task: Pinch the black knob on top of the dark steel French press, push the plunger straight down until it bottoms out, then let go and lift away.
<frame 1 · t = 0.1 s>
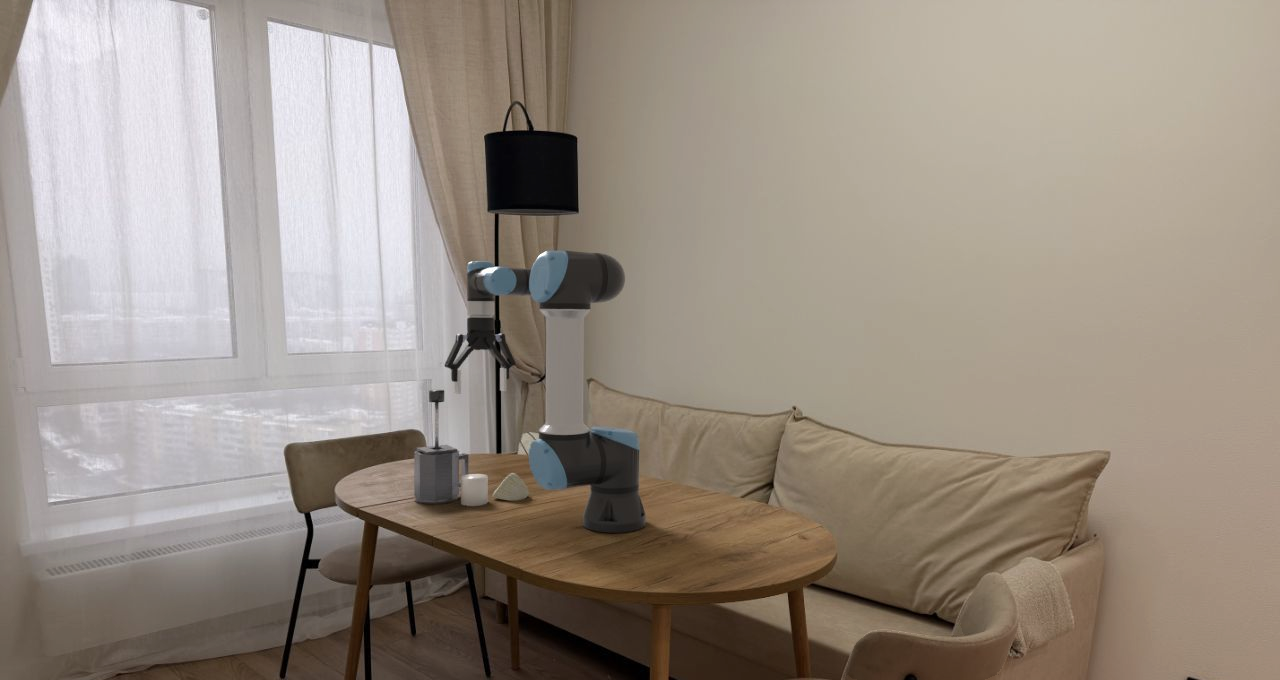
hand: (480, 392, 216), 28 cm above the table, fingers open, 13 cm apart
white pillar candle: (474, 502, 204), on the table
plunger: (436, 425, 207), point 20 cm above the table, slide at 6.0 cm
press: (436, 499, 207), on the table
seashell: (511, 498, 210), on the table
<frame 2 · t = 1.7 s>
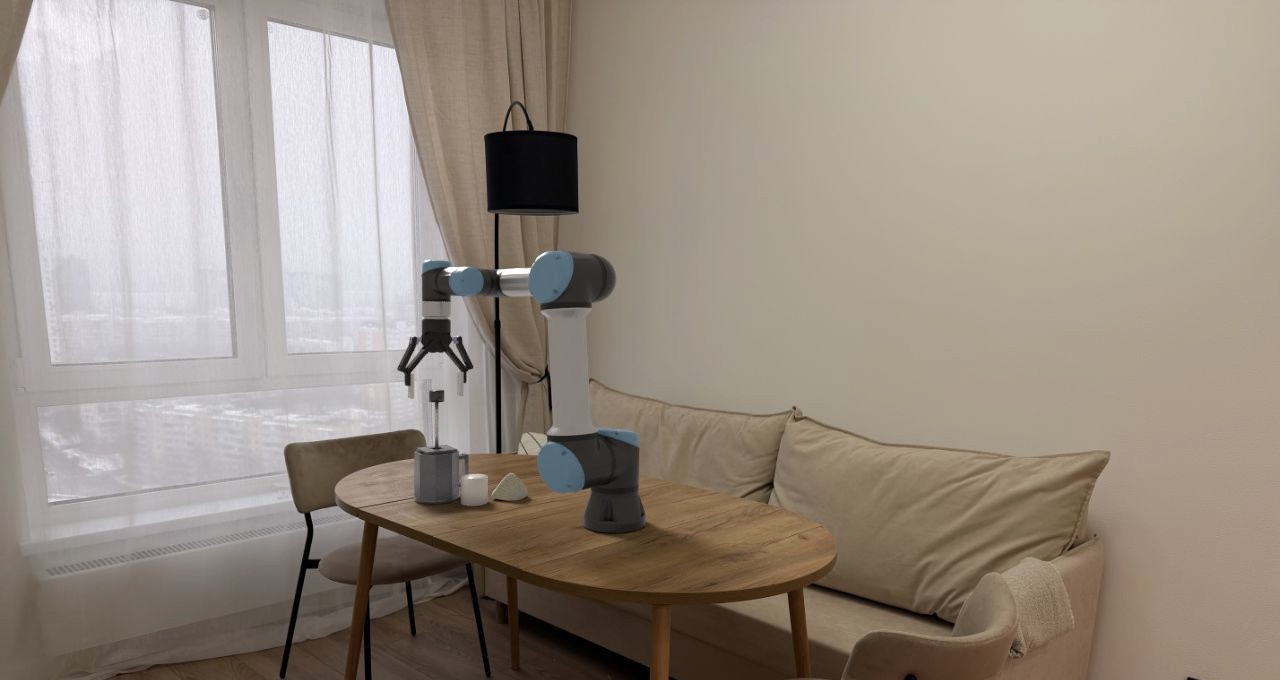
hand: (436, 397, 207), 28 cm above the table, fingers open, 13 cm apart
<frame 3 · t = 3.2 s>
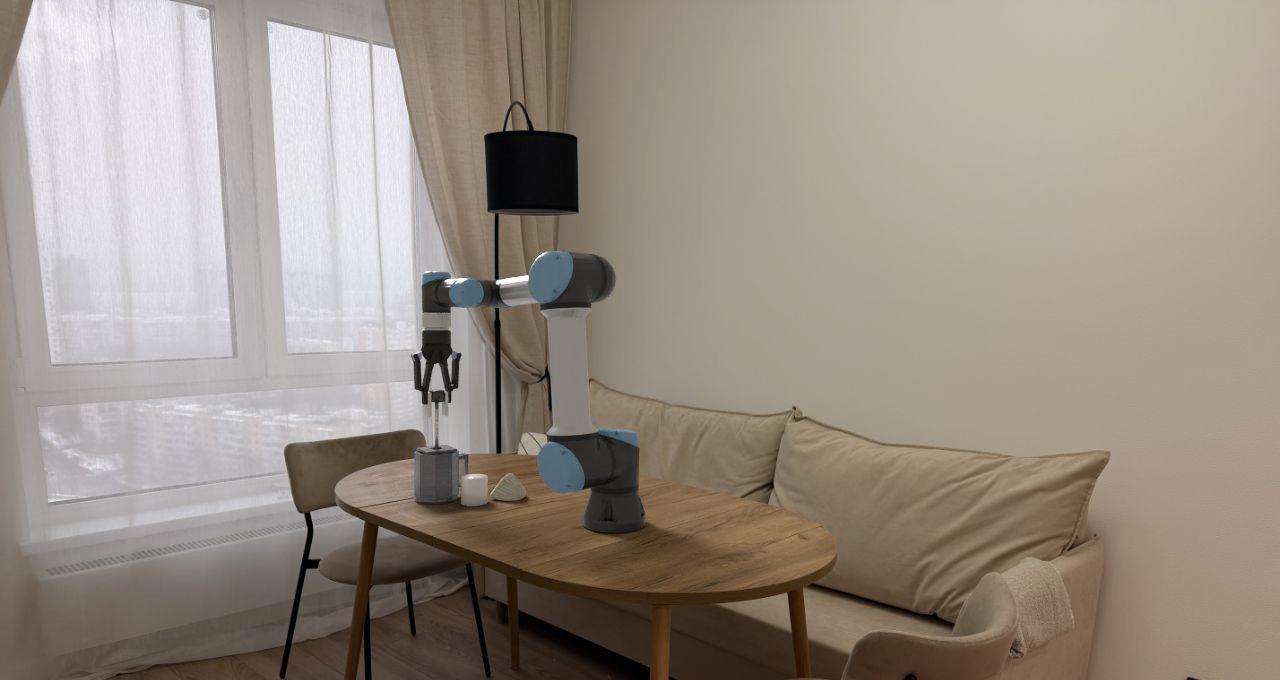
hand: (436, 415, 207), 23 cm above the table, fingers closed on plunger, 4 cm apart
plunger: (436, 425, 207), point 20 cm above the table, slide at 6.0 cm, touching gripper
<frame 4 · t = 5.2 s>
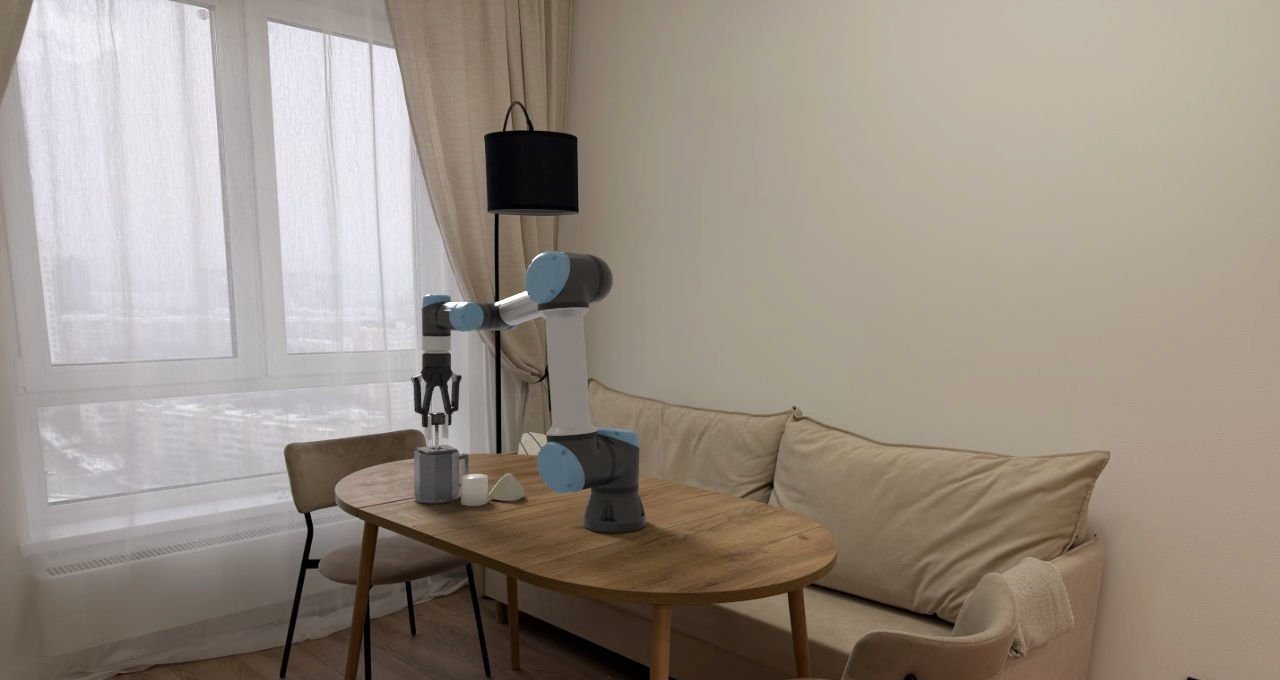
hand: (436, 438, 207), 17 cm above the table, fingers closed on plunger, 4 cm apart
plunger: (436, 448, 207), point 14 cm above the table, slide at -0.1 cm, touching gripper
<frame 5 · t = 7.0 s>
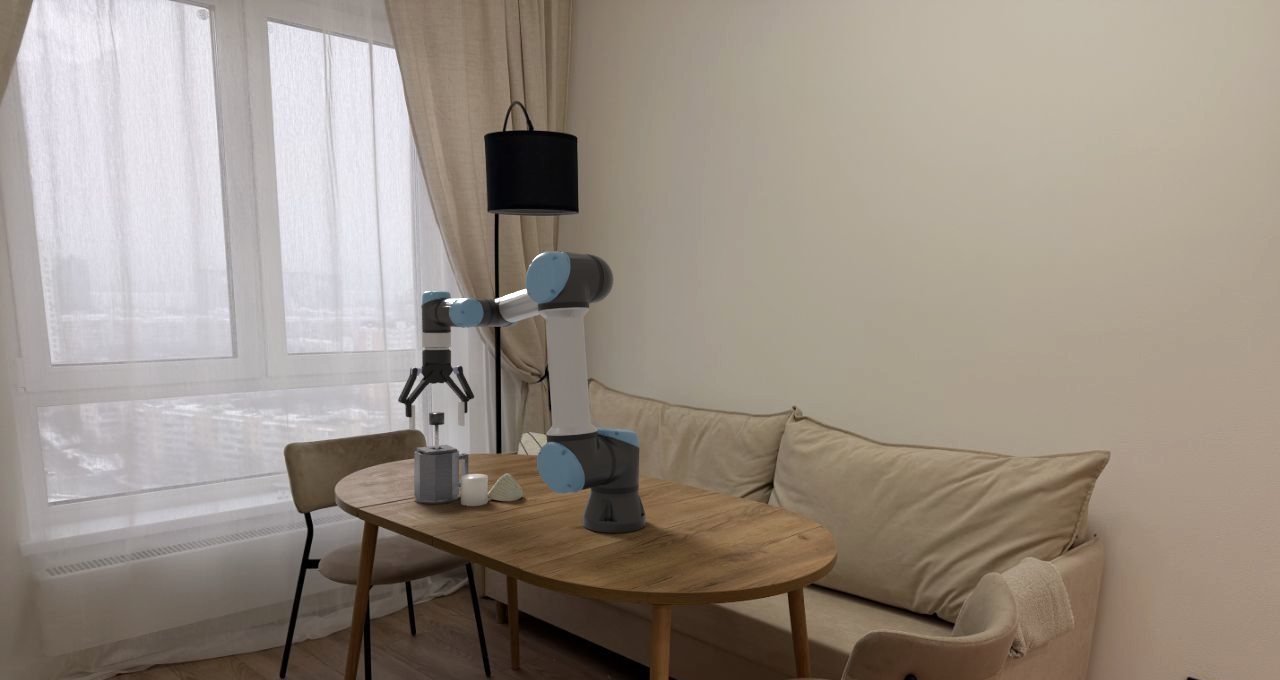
hand: (437, 427, 207), 19 cm above the table, fingers open, 13 cm apart
plunger: (436, 448, 207), point 14 cm above the table, slide at -0.1 cm
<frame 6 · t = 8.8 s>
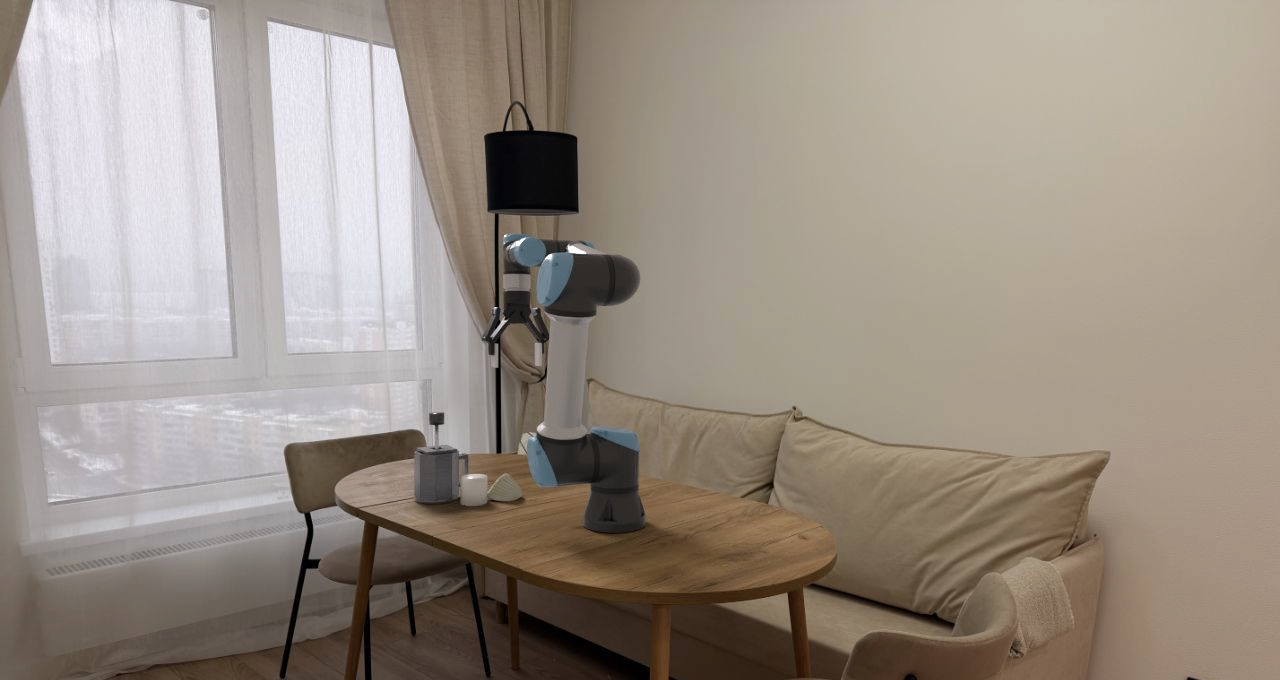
hand: (516, 366, 213), 36 cm above the table, fingers open, 13 cm apart
white pillar candle: (473, 502, 204), on the table, touching seashell
seashell: (504, 498, 209), on the table, touching white pillar candle
everything else where it was.
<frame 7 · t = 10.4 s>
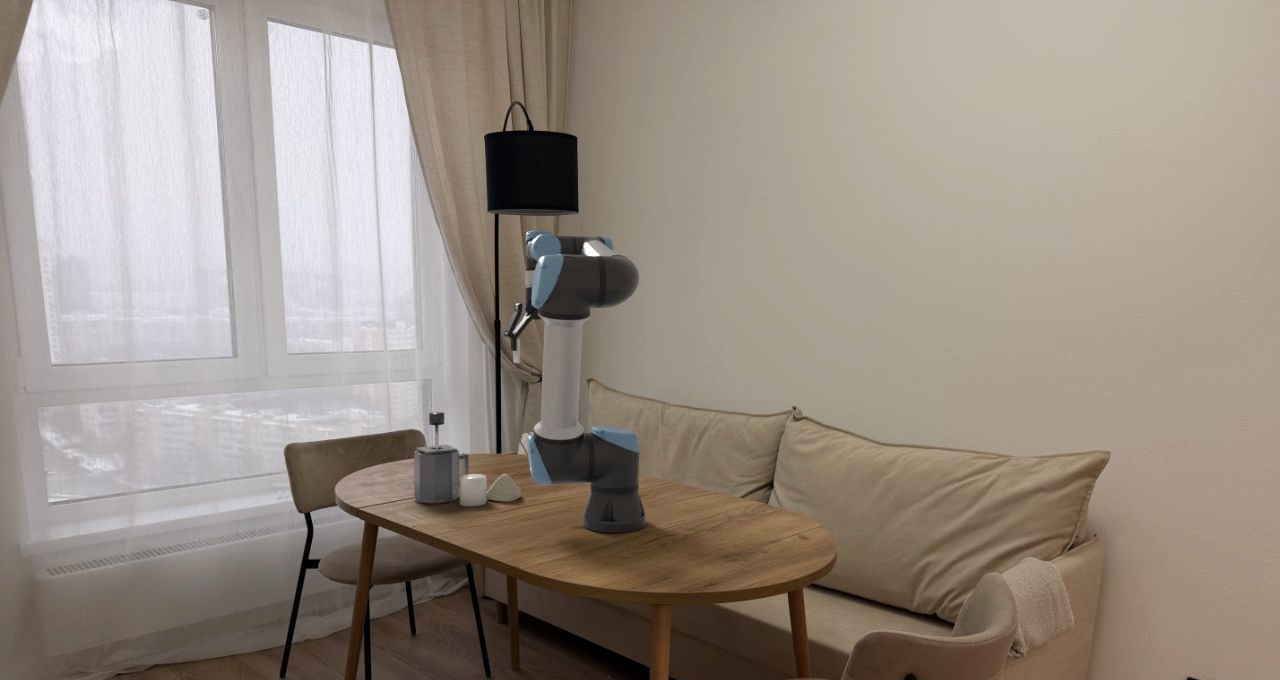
hand: (538, 362, 216), 37 cm above the table, fingers open, 13 cm apart
nothing on the table moved.
at the end: plunger slide at -0.1 cm; the gripper is holding nothing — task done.
